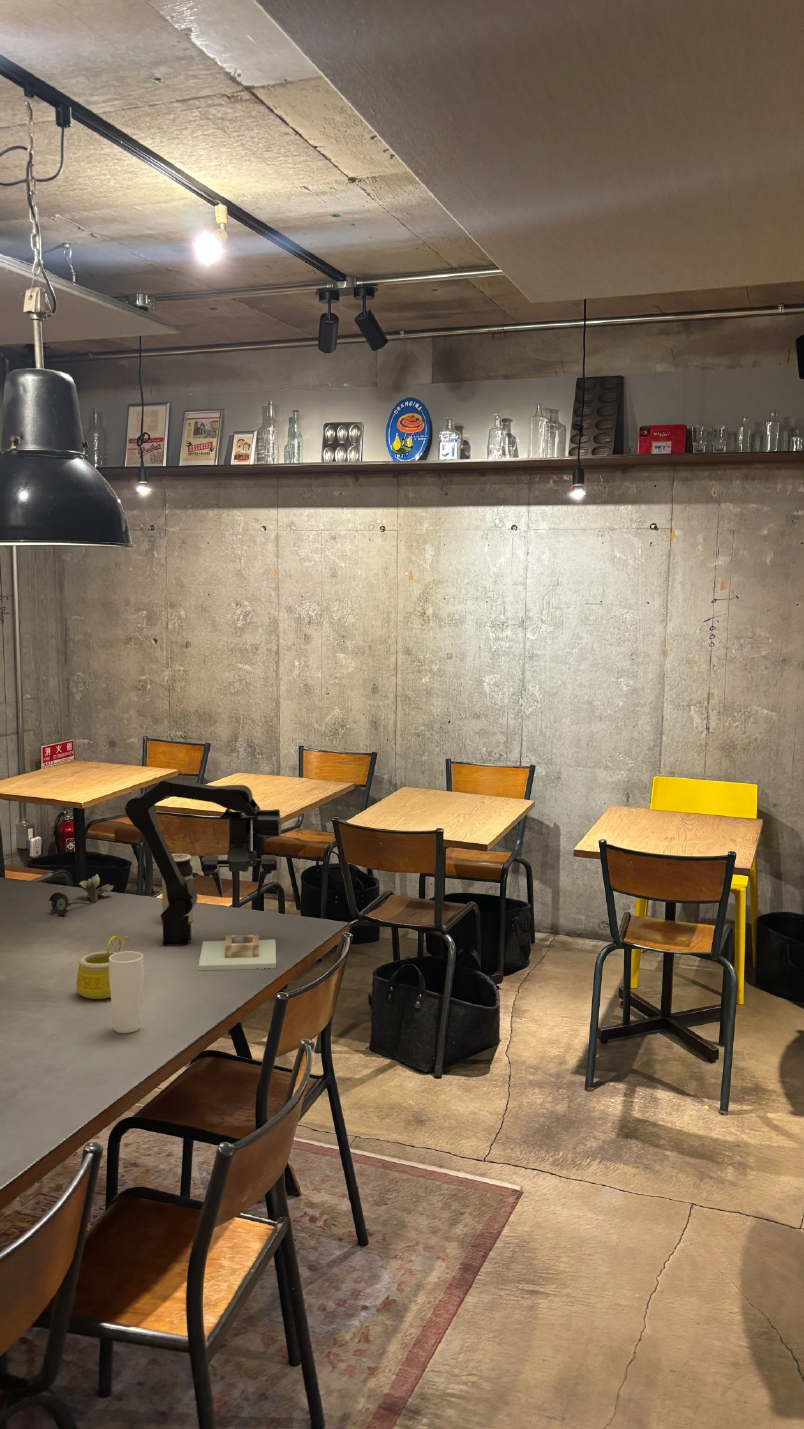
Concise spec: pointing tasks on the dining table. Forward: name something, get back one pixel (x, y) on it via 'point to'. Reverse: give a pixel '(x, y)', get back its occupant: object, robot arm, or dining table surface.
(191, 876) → the travel mug
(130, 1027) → the drinking glass
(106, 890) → the artificial flower
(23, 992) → the dining table surface
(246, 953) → the square wooden frame
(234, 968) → the pale green base plate
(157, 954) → the dining table surface
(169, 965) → the dining table surface
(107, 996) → the mug
